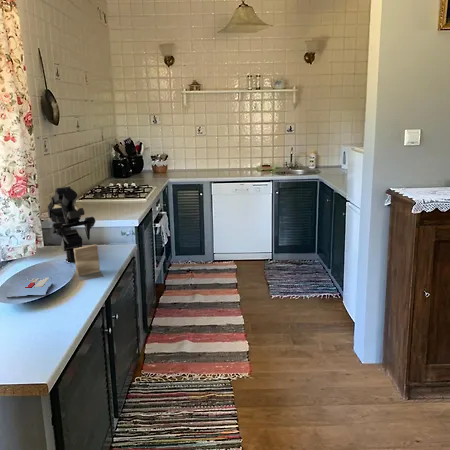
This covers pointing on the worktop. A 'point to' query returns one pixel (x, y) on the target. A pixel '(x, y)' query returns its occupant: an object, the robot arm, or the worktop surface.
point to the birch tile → (86, 260)
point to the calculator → (39, 283)
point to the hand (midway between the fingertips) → (78, 241)
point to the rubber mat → (90, 276)
